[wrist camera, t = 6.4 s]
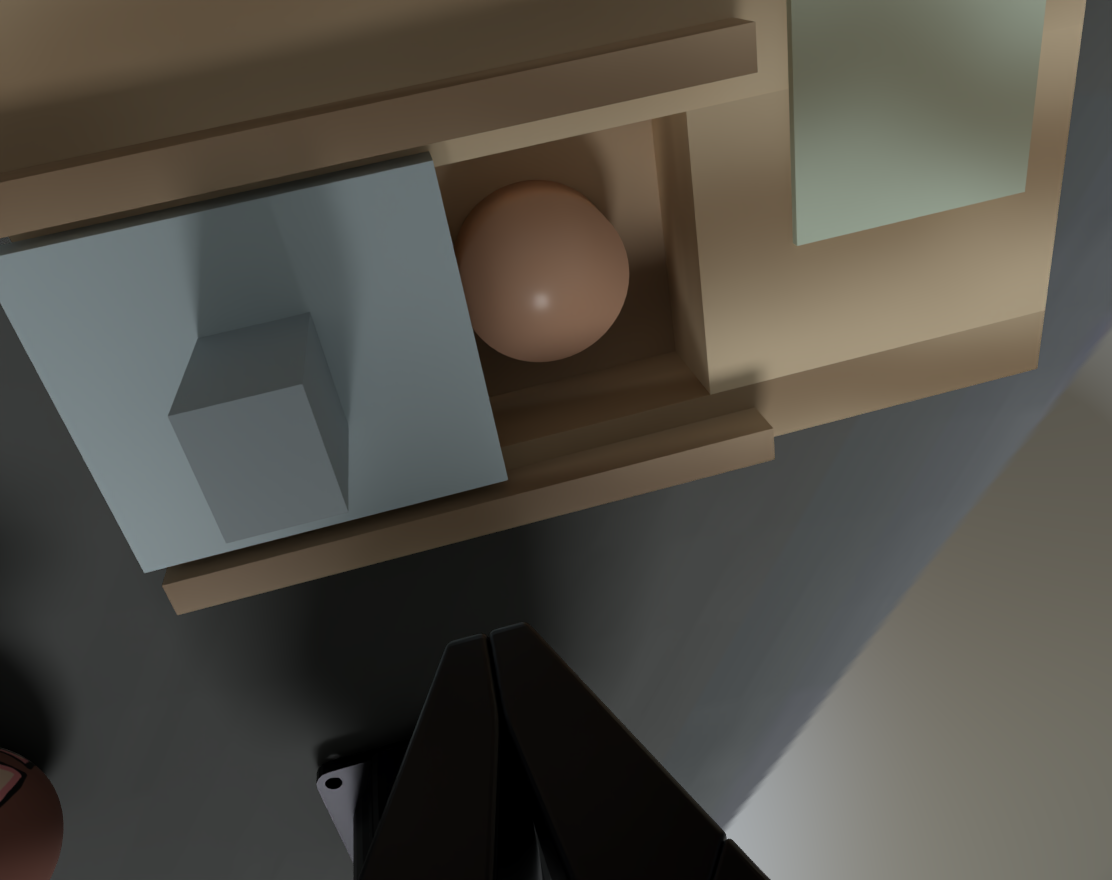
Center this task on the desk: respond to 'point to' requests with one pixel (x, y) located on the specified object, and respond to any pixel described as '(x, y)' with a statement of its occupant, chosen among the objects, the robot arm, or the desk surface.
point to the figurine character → (27, 820)
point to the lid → (261, 358)
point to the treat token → (540, 271)
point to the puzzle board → (602, 202)
